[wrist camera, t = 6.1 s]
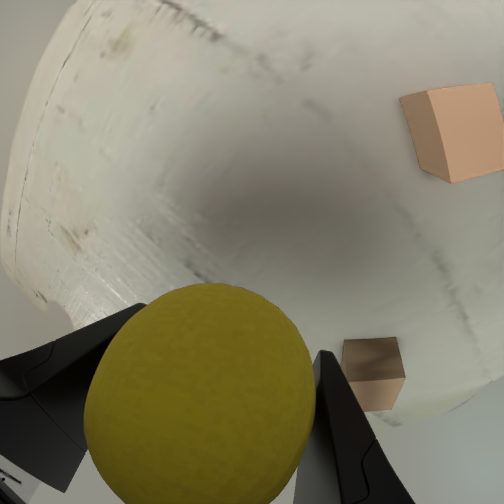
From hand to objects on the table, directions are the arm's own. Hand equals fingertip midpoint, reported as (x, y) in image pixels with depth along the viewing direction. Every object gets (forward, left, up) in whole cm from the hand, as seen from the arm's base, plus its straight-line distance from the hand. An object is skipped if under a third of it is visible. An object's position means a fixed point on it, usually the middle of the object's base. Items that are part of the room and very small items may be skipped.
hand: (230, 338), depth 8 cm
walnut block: (-11, +12, -13) cm, 20 cm away
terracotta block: (-10, -9, -13) cm, 18 cm away
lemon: (0, 0, -2) cm, 2 cm away
